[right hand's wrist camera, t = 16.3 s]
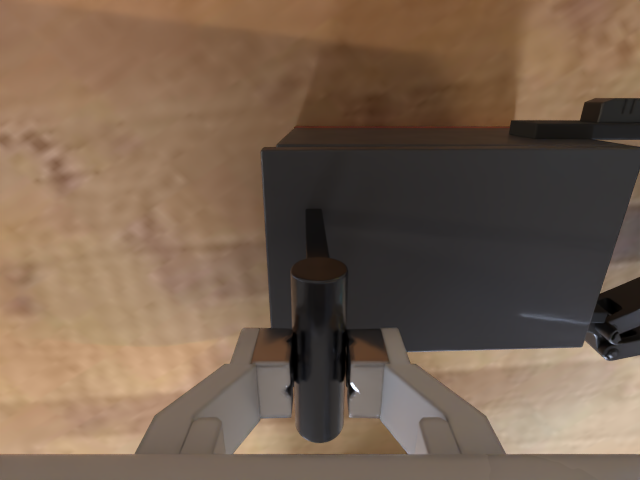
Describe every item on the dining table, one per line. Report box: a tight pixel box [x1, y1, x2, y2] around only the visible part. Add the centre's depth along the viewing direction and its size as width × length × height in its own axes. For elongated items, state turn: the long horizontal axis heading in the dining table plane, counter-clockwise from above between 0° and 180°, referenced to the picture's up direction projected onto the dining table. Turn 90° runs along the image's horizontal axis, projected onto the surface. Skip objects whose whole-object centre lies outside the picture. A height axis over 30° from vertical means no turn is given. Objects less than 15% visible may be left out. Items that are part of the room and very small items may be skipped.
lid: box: [261, 145, 640, 443], centre depth 14 cm, size 16×10×8 cm, turn 90°
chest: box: [276, 126, 624, 147], centre depth 23 cm, size 15×10×10 cm, turn 90°
